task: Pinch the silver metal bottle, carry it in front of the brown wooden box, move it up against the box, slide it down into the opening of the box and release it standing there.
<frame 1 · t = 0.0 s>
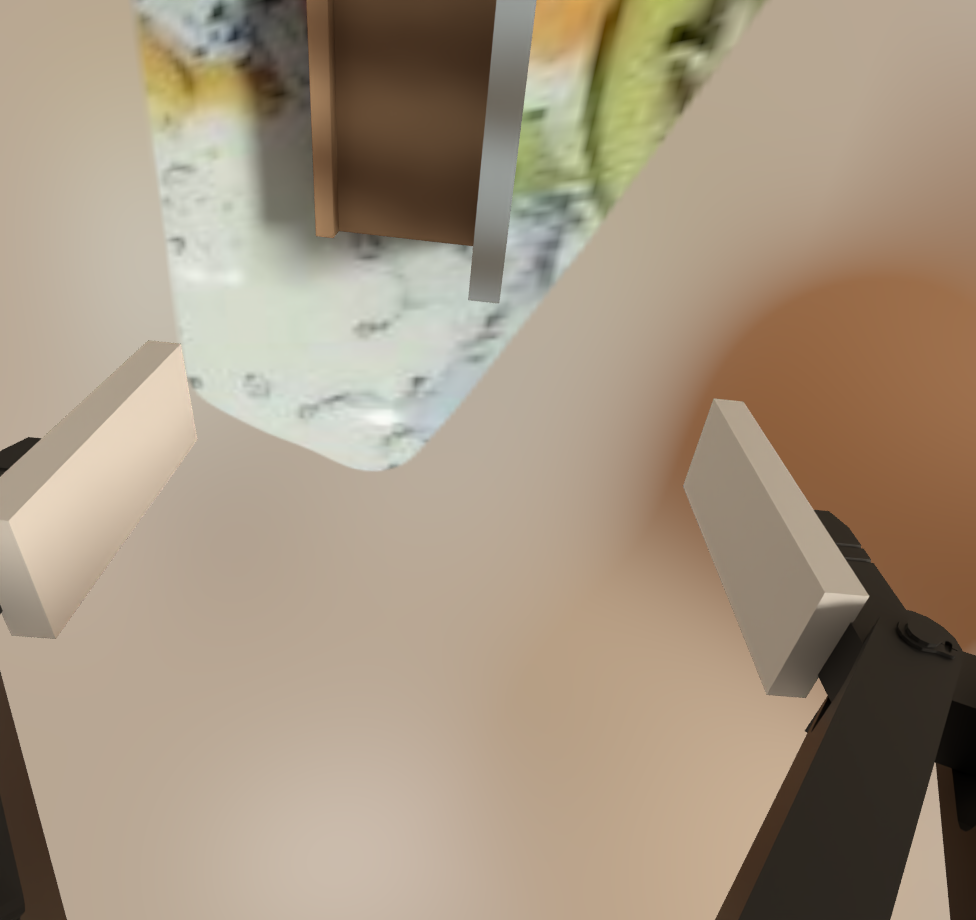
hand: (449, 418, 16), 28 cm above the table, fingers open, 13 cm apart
brown wooden box: (419, 37, 35), on the table
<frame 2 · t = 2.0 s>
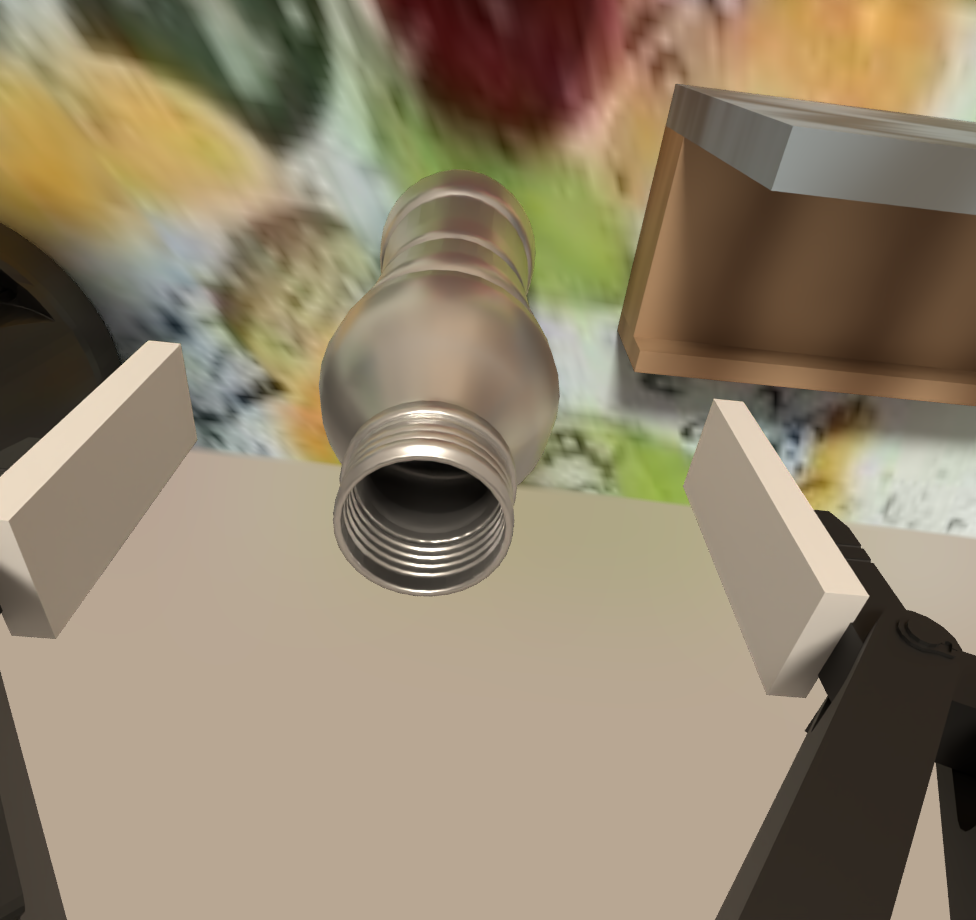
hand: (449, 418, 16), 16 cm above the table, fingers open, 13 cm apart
silver metal bottle: (460, 238, 29), on the table
brown wooden box: (857, 250, 29), on the table
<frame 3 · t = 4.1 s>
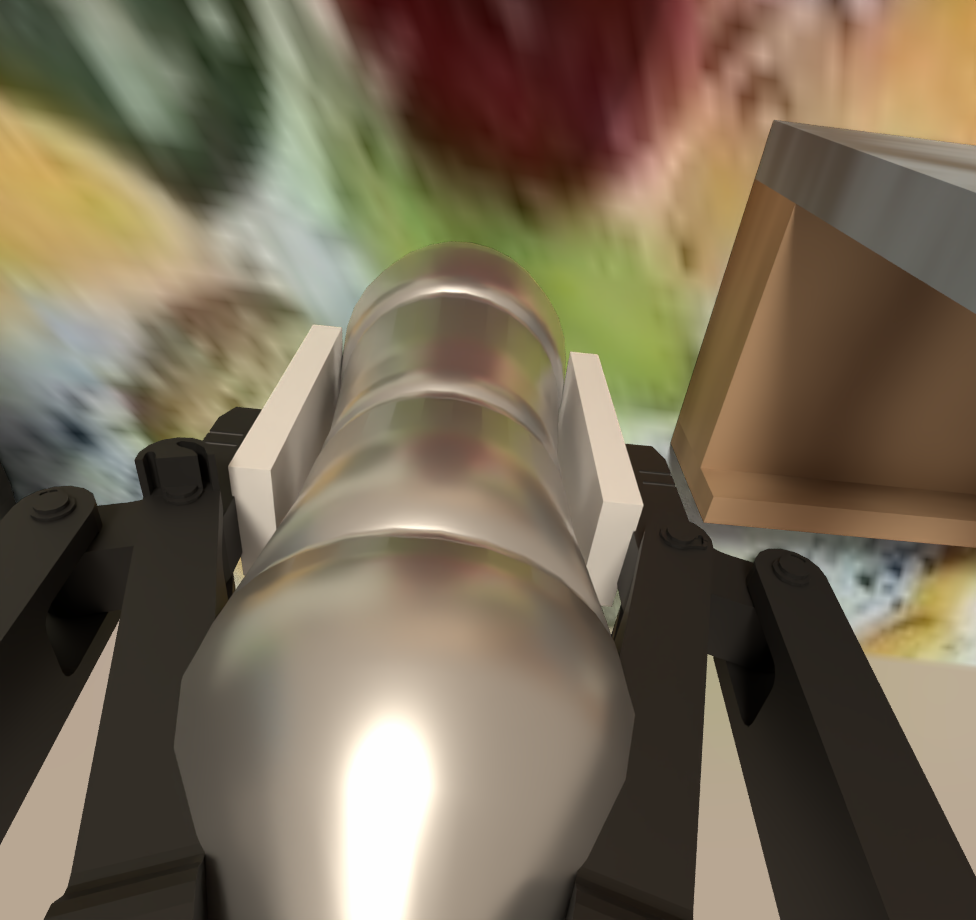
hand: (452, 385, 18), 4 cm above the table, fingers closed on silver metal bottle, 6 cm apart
silver metal bottle: (459, 326, 21), on the table, touching gripper
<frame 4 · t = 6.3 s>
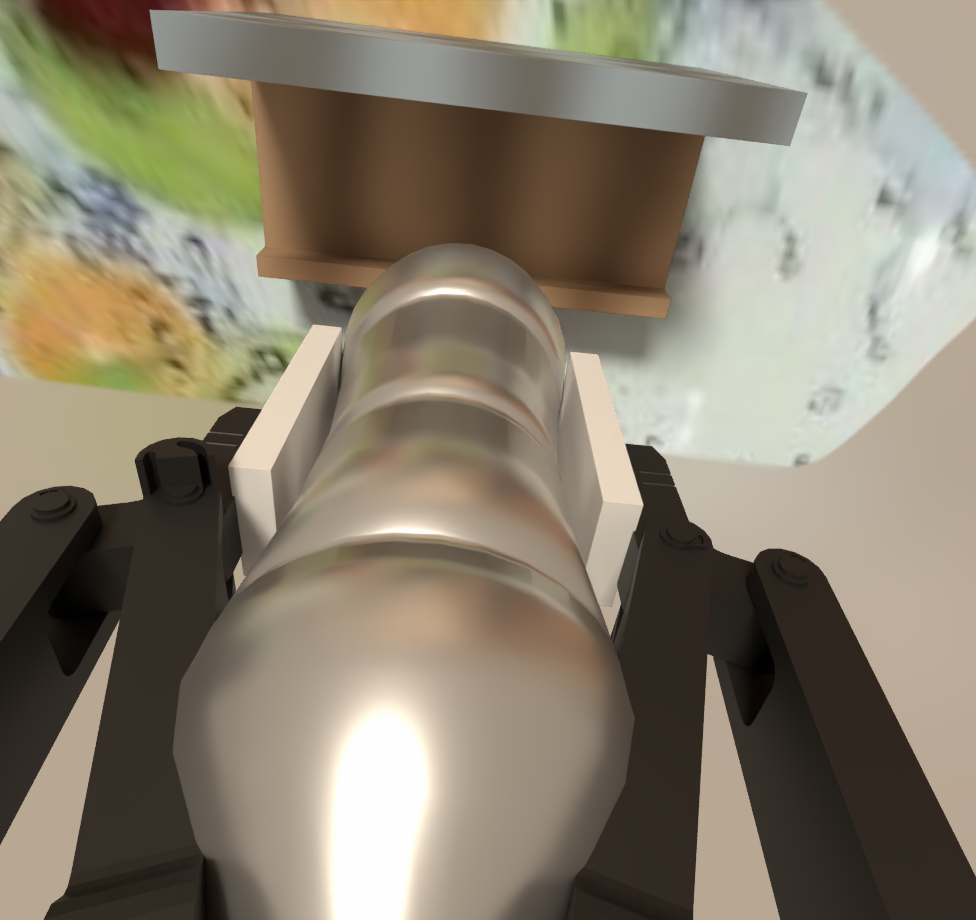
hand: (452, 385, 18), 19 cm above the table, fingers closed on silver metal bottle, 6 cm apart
silver metal bottle: (459, 328, 21), point 15 cm above the table, touching gripper
brown wooden box: (477, 170, 33), on the table
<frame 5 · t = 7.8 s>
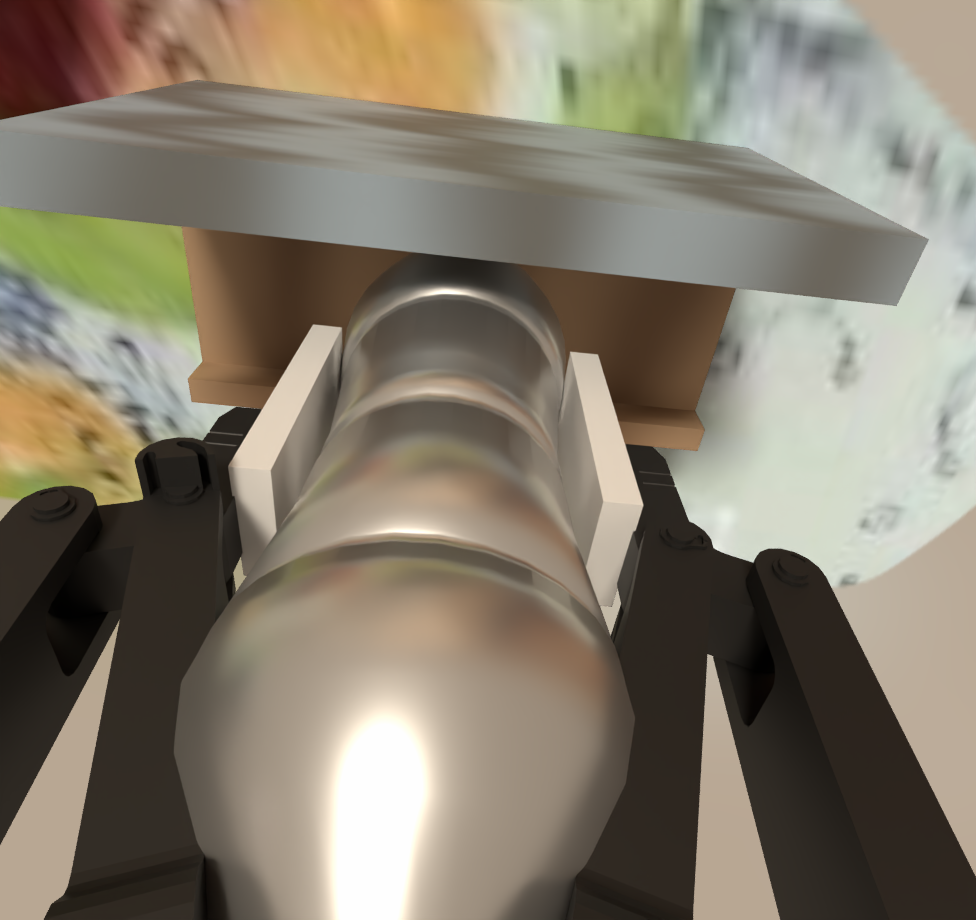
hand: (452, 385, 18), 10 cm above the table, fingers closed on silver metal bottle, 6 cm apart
silver metal bottle: (459, 328, 21), point 6 cm above the table, touching gripper
brown wooden box: (465, 265, 26), on the table
when the fingers open (8 cm above the table, at t = 9.0 s): silver metal bottle stays where it is, resting on brown wooden box.
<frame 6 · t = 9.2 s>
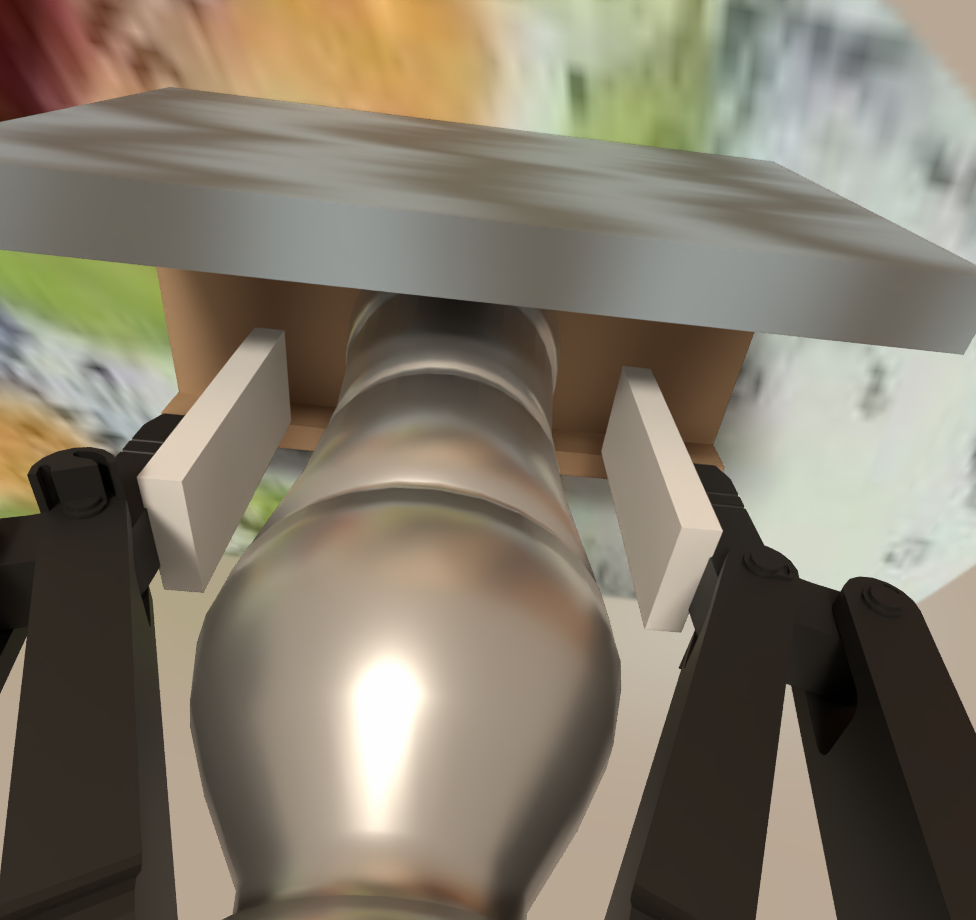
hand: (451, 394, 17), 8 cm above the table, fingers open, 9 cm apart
silver metal bottle: (459, 316, 22), point 3 cm above the table, touching brown wooden box
brown wooden box: (464, 287, 24), on the table
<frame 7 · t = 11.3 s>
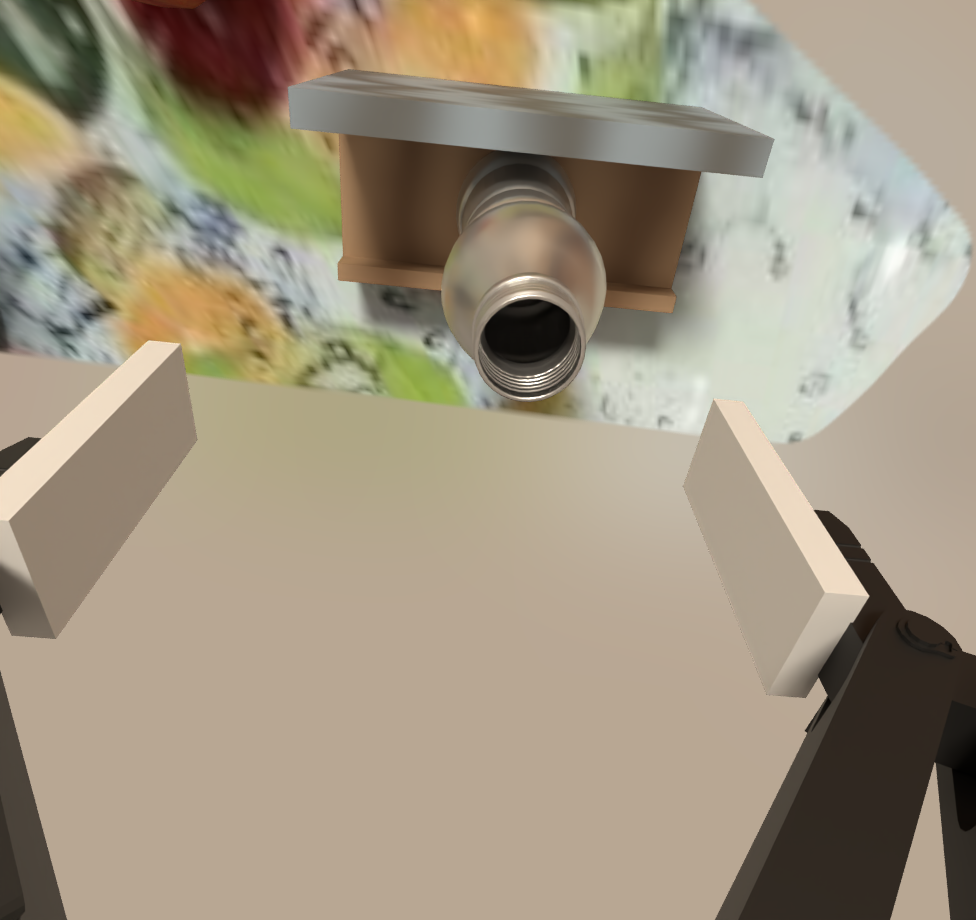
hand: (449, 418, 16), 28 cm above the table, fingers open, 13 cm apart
silver metal bottle: (514, 202, 37), point 3 cm above the table, touching brown wooden box
brown wooden box: (515, 191, 39), on the table
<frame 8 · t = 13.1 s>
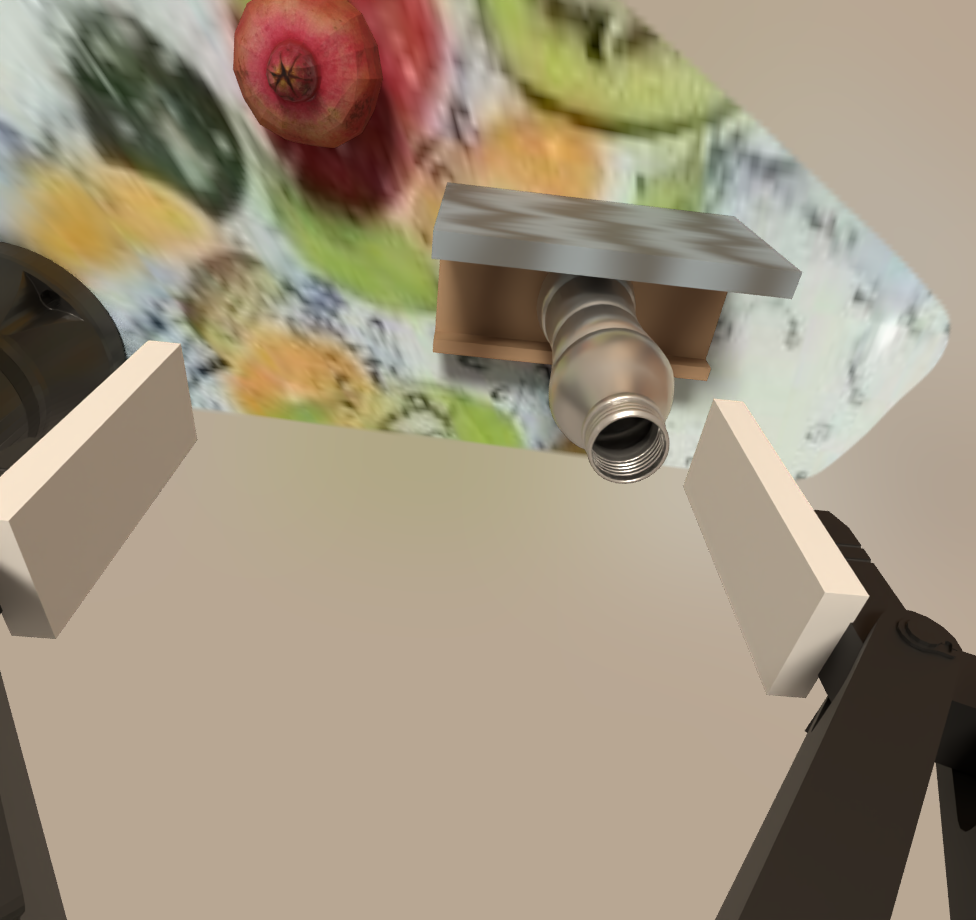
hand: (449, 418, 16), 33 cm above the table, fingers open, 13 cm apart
silver metal bottle: (580, 291, 45), point 3 cm above the table, touching brown wooden box
brown wooden box: (577, 278, 47), on the table
fruit: (326, 64, 40), on the table
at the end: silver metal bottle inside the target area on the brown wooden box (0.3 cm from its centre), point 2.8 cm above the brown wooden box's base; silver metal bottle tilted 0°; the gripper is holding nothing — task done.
